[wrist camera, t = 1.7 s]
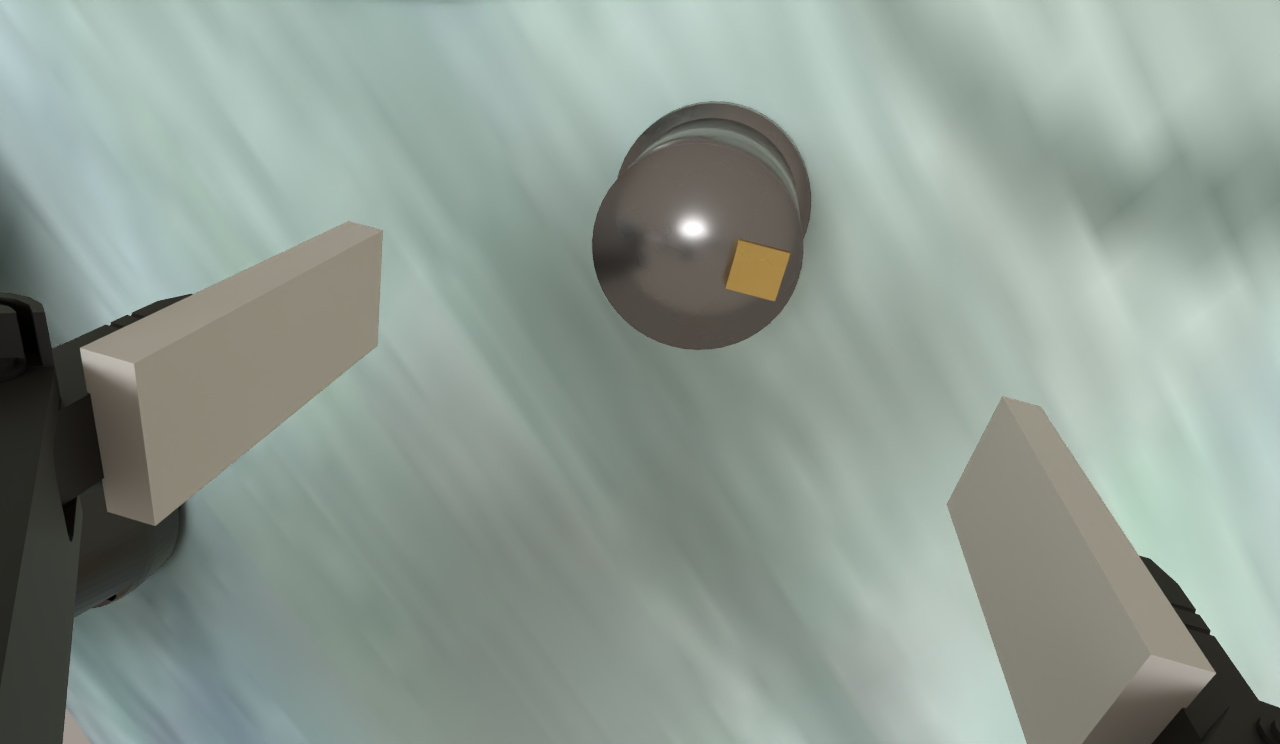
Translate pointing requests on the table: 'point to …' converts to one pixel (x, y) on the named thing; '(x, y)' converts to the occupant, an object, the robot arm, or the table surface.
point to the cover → (704, 227)
